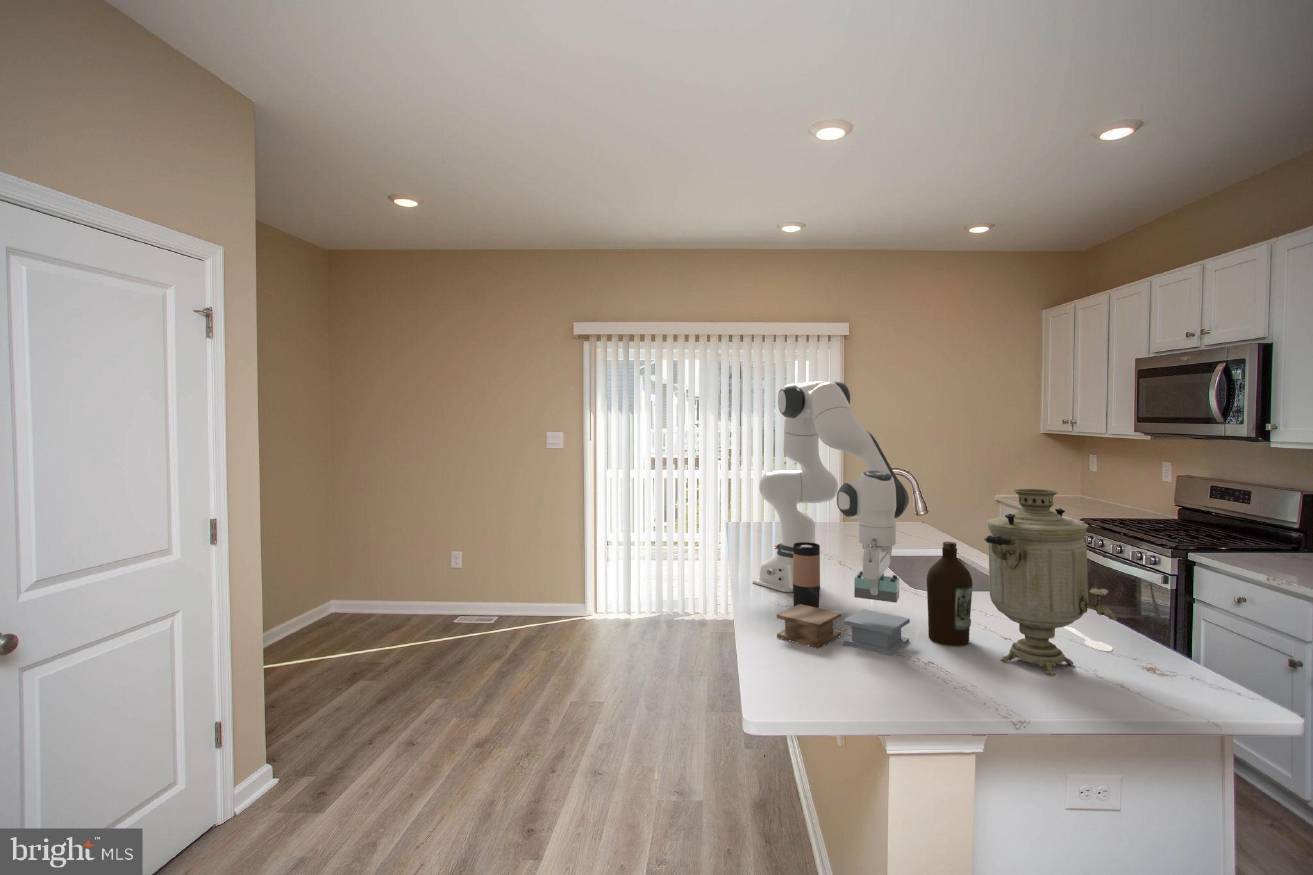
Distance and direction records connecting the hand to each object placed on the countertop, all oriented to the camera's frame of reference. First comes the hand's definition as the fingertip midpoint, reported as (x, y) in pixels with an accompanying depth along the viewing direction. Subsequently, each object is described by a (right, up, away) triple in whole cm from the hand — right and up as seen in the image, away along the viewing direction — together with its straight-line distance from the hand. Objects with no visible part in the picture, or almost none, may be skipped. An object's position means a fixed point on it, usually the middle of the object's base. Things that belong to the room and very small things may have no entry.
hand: (876, 590), depth 159 cm
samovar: (+33, -14, -15) cm, 39 cm away
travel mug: (-12, -13, +24) cm, 30 cm away
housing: (0, -2, 0) cm, 2 cm away
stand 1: (-16, -13, +5) cm, 21 cm away
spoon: (+54, -13, +3) cm, 56 cm away
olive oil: (+19, -13, +2) cm, 23 cm away
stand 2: (0, -13, 0) cm, 13 cm away
